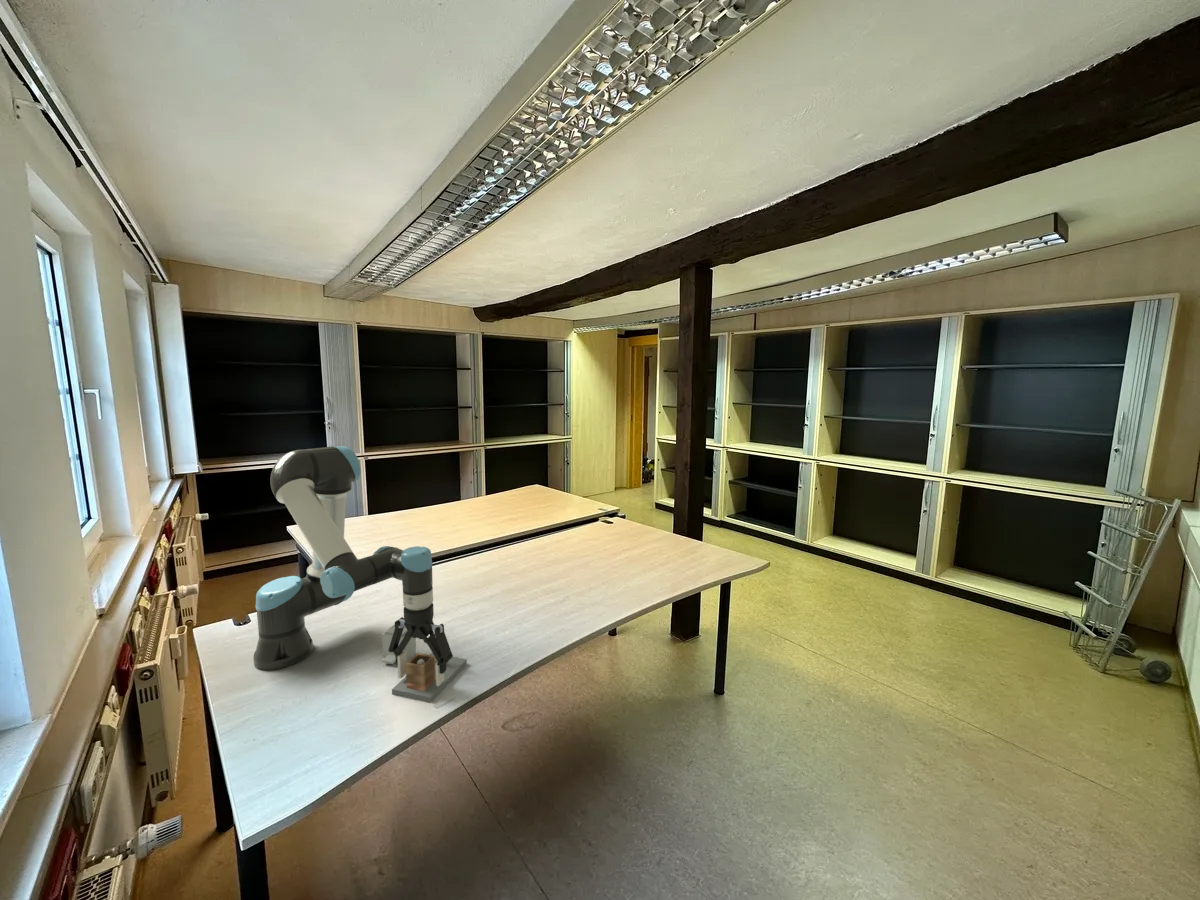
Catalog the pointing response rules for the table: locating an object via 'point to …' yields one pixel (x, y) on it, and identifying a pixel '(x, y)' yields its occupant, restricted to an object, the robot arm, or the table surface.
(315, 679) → the table surface
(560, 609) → the table surface
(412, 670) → the sleeve
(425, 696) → the pinboard
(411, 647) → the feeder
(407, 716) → the table surface
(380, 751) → the table surface
